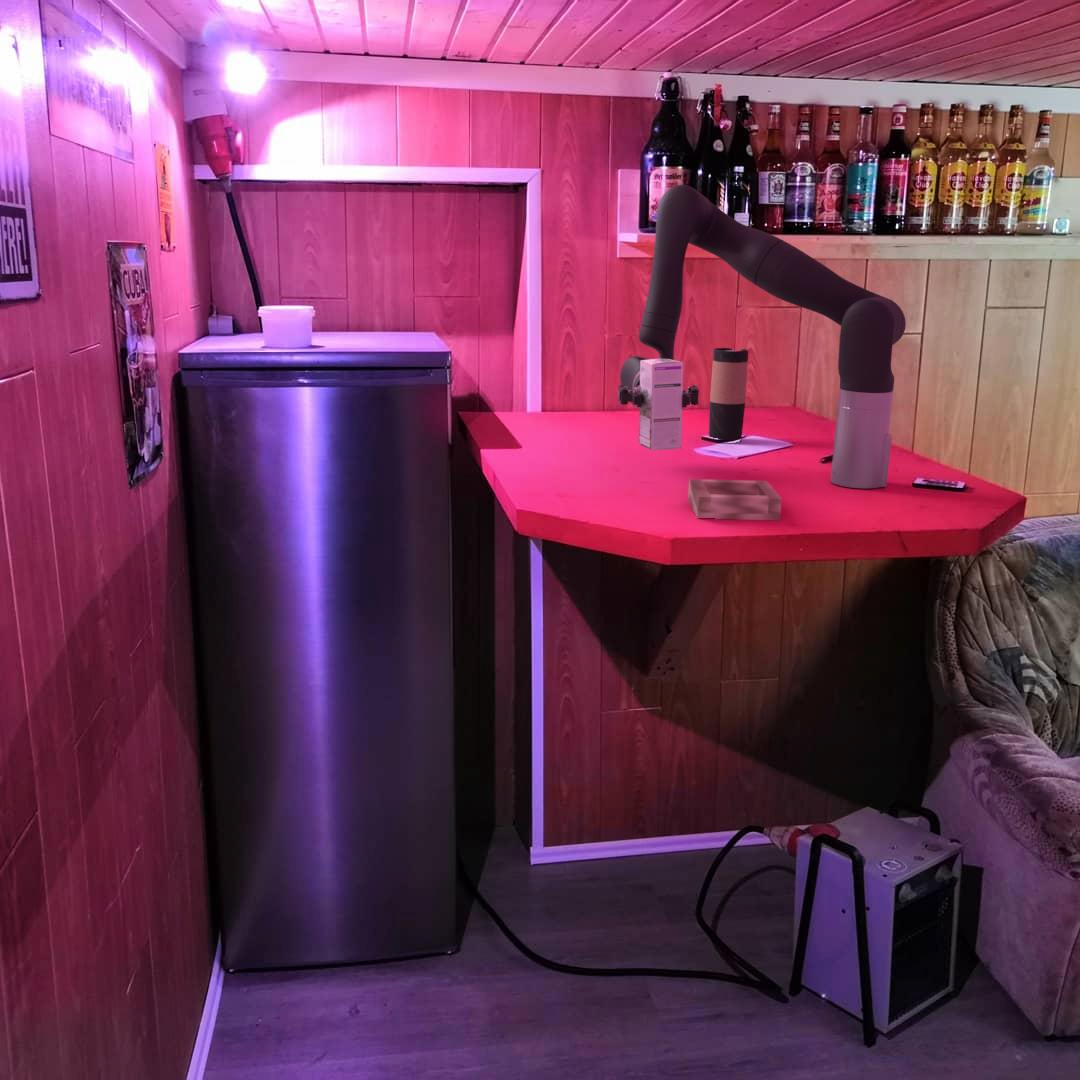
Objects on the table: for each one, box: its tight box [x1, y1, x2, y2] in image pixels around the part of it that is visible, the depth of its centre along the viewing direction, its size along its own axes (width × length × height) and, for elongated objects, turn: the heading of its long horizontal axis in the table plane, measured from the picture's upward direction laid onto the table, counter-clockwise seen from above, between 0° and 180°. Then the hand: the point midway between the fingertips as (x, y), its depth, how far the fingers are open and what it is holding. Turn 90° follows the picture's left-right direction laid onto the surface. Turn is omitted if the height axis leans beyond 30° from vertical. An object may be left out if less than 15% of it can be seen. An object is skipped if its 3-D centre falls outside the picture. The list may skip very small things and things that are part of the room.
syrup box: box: [638, 358, 684, 451], centre depth 176 cm, size 6×6×14 cm
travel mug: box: [708, 347, 749, 440], centre depth 231 cm, size 8×8×20 cm
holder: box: [687, 478, 783, 521], centre depth 172 cm, size 13×13×4 cm
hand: (662, 401), depth 173 cm, fingers closed on syrup box, 7 cm apart
